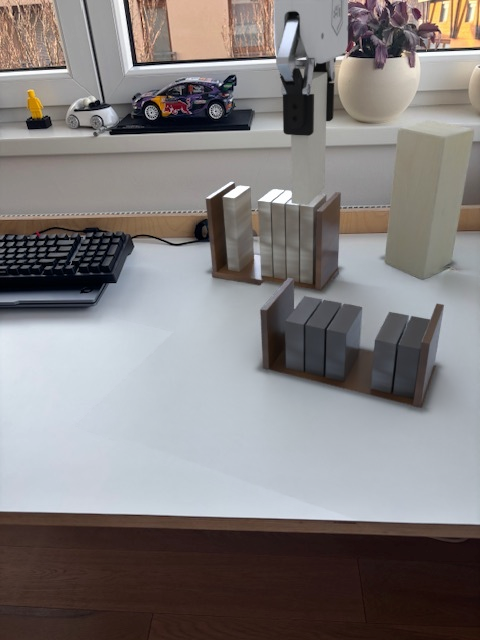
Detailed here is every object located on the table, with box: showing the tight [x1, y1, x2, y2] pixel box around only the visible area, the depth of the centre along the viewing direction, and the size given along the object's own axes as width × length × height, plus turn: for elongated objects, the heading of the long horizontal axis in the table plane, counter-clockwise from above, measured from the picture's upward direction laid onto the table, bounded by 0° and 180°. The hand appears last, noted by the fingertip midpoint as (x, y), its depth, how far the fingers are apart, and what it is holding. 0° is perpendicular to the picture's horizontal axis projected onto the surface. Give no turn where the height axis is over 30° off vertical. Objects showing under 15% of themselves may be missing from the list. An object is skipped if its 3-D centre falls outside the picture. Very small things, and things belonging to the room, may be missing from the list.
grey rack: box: [259, 278, 445, 409], centre depth 61 cm, size 18×8×9 cm, turn 63°
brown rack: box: [205, 181, 342, 292], centre depth 82 cm, size 18×8×13 cm, turn 63°
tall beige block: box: [384, 120, 475, 280], centre depth 80 cm, size 8×7×21 cm
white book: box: [290, 72, 327, 205], centre depth 61 cm, size 2×6×13 cm, turn 154°
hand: (309, 125), depth 60 cm, fingers closed on white book, 6 cm apart
